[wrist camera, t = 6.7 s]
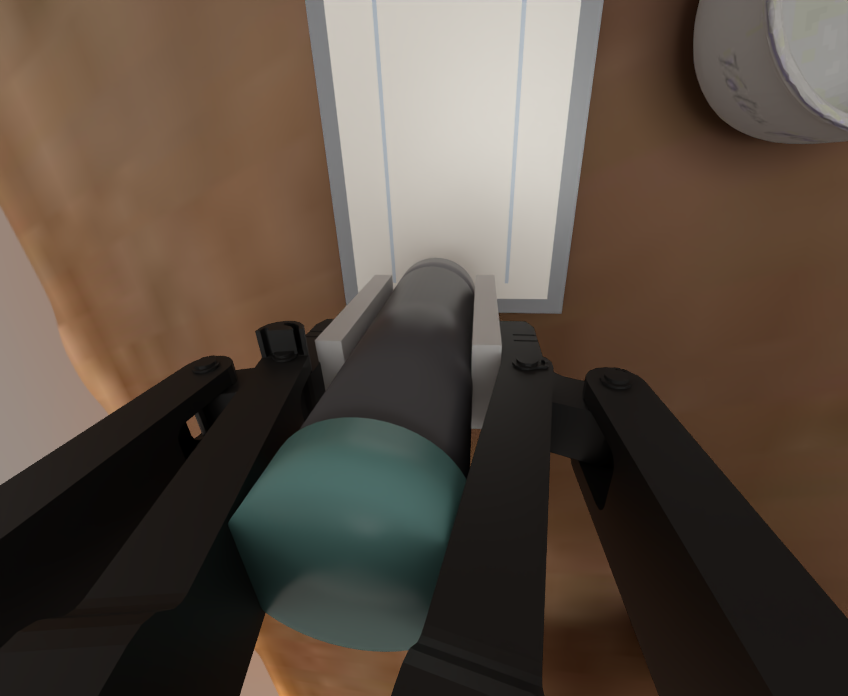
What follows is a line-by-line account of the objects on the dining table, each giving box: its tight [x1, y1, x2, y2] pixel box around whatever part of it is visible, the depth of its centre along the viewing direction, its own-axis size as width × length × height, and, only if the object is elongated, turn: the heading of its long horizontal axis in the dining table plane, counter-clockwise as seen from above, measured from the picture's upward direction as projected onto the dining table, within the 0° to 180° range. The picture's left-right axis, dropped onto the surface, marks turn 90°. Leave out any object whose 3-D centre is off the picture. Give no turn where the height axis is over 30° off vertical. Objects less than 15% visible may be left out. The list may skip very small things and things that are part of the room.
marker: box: [228, 258, 475, 652], centre depth 11 cm, size 4×4×13 cm
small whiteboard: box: [305, 0, 604, 314], centre depth 20 cm, size 20×14×1 cm
